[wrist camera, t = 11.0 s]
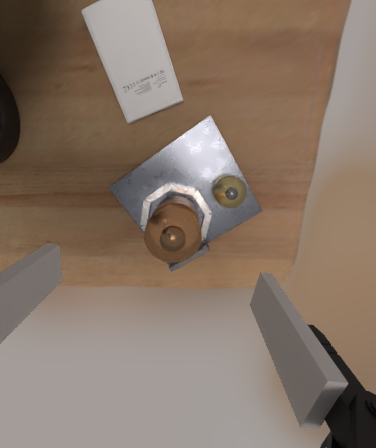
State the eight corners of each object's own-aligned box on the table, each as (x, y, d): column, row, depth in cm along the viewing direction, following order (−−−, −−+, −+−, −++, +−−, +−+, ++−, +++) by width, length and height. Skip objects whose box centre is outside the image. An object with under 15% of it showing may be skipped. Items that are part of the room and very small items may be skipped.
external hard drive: (147, -12, 23) (183, 102, 27) (86, 19, 24) (130, 125, 28) (144, -23, 21) (183, 99, 25) (79, 10, 22) (126, 123, 26)
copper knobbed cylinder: (160, 241, 32) (151, 271, 24) (149, 201, 30) (134, 218, 22) (201, 232, 32) (207, 260, 24) (193, 191, 30) (195, 205, 21)
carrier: (168, 263, 35) (166, 277, 30) (109, 187, 30) (97, 192, 26) (260, 210, 31) (271, 218, 27) (210, 115, 27) (213, 108, 23)
